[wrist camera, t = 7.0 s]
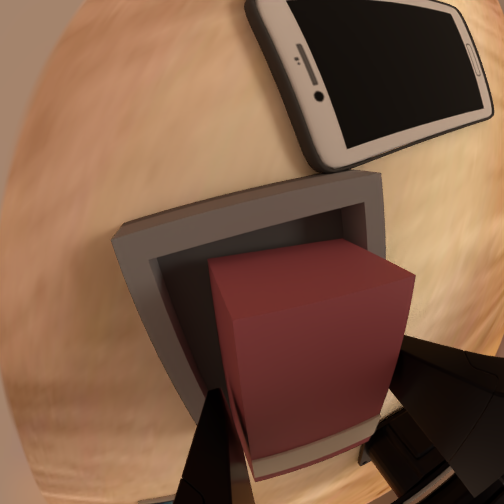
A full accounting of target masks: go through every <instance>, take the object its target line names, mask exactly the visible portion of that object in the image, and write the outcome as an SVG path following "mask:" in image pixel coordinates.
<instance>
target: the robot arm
mask: <svg viewBox="0 0 504 504" xmlns="http://www.w3.org/2000/svg"><path fill="white" fill-rule="evenodd" d="M389 389H390V391H391V392H392V393H393V394H394V395H395V397H396V398H397V399H398V400H399V402H400V403H401V404H402V405H403V407H404V409H403V410H401V411H400V412H398V413H397V414H395V415H393V416H392V417H390V418H388V419H387V420H385V421H383V422H381V423H380V424H378V425H377V427H376V429H375V432H374V434H373V435H371V436H370V439H369V441H367V442H365V443H363V444H362V446H361V450H360V455H359V459H358V464H359V465H360V466H362V465H364V464H366V463H368V462H370V461H372V462H373V463H374V465H375V466H376V468H377V469H378V470H379V472H380V473H381V475H382V476H383V477H384V479H385V480H386V481H387V483H388V484H389V486H390V487H391V488H392V490H393V491H394V493H395V494H396V495H397V497H398V499H397V500H396V501H394V502H393V503H391V504H409V503H411V502H412V501H414V500H415V499H416V498H418V497H419V496H420V495H422V494H423V493H424V492H426V491H427V490H428V489H429V488H431V487H432V486H433V485H434V484H436V483H437V482H438V481H439V480H440V479H441V478H443V477H444V476H445V475H446V474H447V473H449V472H450V471H451V470H452V469H453V470H454V472H455V473H454V474H453V475H452V476H450V477H449V478H448V479H447V480H446V481H445V482H443V483H442V484H441V485H440V486H438V487H437V488H436V489H435V490H434V491H432V492H431V493H430V494H428V495H427V496H426V497H425V498H423V499H422V500H421V501H419V502H418V503H416V504H504V358H501V357H494V356H488V355H482V354H477V353H473V352H469V351H463V350H460V349H456V348H452V347H448V346H444V345H440V344H437V343H433V342H429V341H425V340H421V339H418V338H414V337H410V336H407V335H404V336H403V340H402V344H401V348H400V352H399V356H398V359H397V363H396V366H395V370H394V373H393V376H392V379H391V382H390V386H389ZM173 504H255V501H254V497H253V493H252V488H251V484H250V479H249V475H248V470H247V466H246V461H245V456H244V452H243V447H242V444H241V441H240V438H239V435H238V432H237V429H236V426H235V423H234V420H233V417H232V414H231V411H230V408H229V406H228V403H227V401H226V398H225V396H224V394H223V391H222V389H221V388H219V387H218V388H215V389H211V390H209V391H208V392H207V395H206V398H205V401H204V405H203V408H202V411H201V414H200V418H199V421H198V424H197V428H196V431H195V434H194V437H193V441H192V444H191V447H190V451H189V454H188V457H187V460H186V464H185V467H184V470H183V474H182V479H181V480H180V483H179V486H178V490H177V493H176V495H175V498H174V501H173Z"/></svg>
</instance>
